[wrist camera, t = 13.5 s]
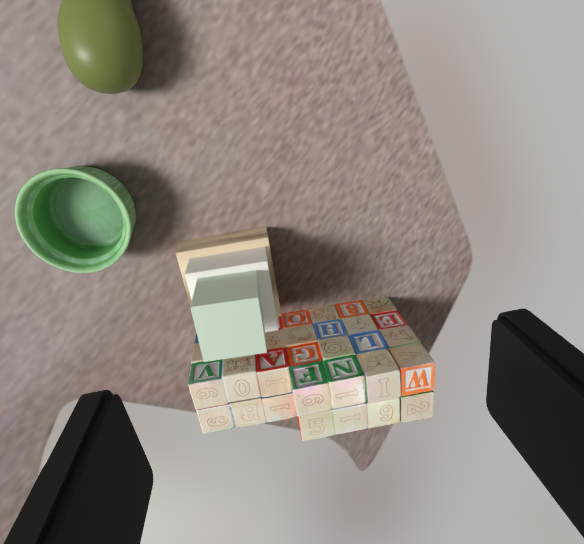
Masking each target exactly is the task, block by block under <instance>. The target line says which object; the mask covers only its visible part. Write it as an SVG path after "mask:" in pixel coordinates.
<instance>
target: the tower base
mask: <svg viewBox="0 0 584 544" xmlns="http://www.w3.org/2000/svg"><path fill="white" fill-rule="evenodd" d="M264 246H265V249H266V255H267V261H268V267H269V273H270V279H271V285H272V291H273V297H274V303H275V309H276V316H277V317H278V316H282V315H281V309H280V303H279V298H278V292H277V286H276V280H275V274H274V269H273V263H272V257H271V251H270V245H269V240H268V234H267V228H266V227H263V228H257V229H251V230H245V231H239V232H233V233H227V234H221V235H215V236H209V237H203V238H197V239H191V240H185V241H180V243H179V246H178V248H177V251H176V256H177V260H178V263H179V267H180V270H181V274H182V277H183V281H184V284H185V288H186V292H187V295H188V299H189V302H190V306H191V303H192V300H191V297H190V293H189V289H188V285H187V281H186V278H185V271H186V268H187V265H188V261H189V258H194V257H200V256H207V255H213V254H219V253H226V252H232V251H238V250H245V249H251V248H257V247H264Z"/></svg>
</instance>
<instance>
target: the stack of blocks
mask: <svg viewBox="0 0 584 544" xmlns="http://www.w3.org/2000/svg"><path fill="white" fill-rule="evenodd" d="M281 315H282V316H278V317H277V323H278V330H276V331H270V332H265V338H266V349H267V353H261V354H254V355H248V356H241V357H234V358H228V359H221V360H214V361H208V362H204V361H203V357H202V353H201V349H200V345H199V341H198V336H197V333H196V339H195V345H194V348H193V354H192V360H191V369H190V376H189V382H188V386H189V389H190V393H191V396H192V399H193V403H194V406H195V409H196V410H197V414H198V418H199V421H200V424H201V428H202V431H203V433H204V434H206V433H211V432H216V431H221V430H226V429H232V428H234V427H235V428H240V427H245V426H251V425H256V424H262V423H265V422H273V421H278V420H283V419H288V418H292V417H295V416H297V418H298V423H299V428H300V433H301V439H302V441H307V440H312V439H317V438H322V437H327V436H332V435H335V434H341V433H347V432H351V431H357V430H362V429H365V428H373V427H378V426H384V425H389V424H394V423H399V422H400V421H401V422H408V421H413V420H418V419H424V418H430V417H432V416H433V408H434V391H433V390H434V386H435V385H434V384H435V362H434V360H433V359H432V358H431V356H430V355H429V354H428V352H427V351H426V350H425V348H424V347H423V345H422V344H421V341H420V340H419V339H418V338H417V336H416V335H415V333H414V332H413V330H412V329H411V328H410V327H409V326H408V324H407V323H406V322H405V320H404V319H403V317H402V316H401V315H400V314H399V312H398V311H397V309H396V307H395V306H394V305H393V303H392V302H391V301H390V299H389V298H388V297H384V298H377V299H371V300H364V301H354V302H348V303H341V304H336V305H328V306H322V307H316V308H310V309H308V310H302V311H298V312H291V313H285V314H281Z"/></svg>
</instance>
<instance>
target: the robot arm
mask: <svg viewBox="0 0 584 544" xmlns="http://www.w3.org/2000/svg"><path fill="white" fill-rule="evenodd" d="M486 403H487V407H488V410H489V412H490V414H491V416H492V417H493V418H494V420H495V421H496V422H497V424H498V425H499V427H500V428H501V429H502V430H503V432H504V433H505V434H506V436H507V437H508V438H509V440H510V441H511V442H512V444H513V445H514V446H515V448H516V449H517V450H518V452H519V453H520V454H521V456H522V457H523V458H524V460H525V461H526V462H527V463H528V465H529V466H530V468H531V469H532V470H533V471H534V473H535V474H536V475H537V477H538V478H539V479H540V481H541V482H542V483H543V485H544V486H545V487H546V488H547V490H548V491H549V493H550V494H551V495H552V496H553V498H554V499H555V501H556V502H557V503H558V505H559V506H560V507H561V508H562V510H563V511H564V512H565V514H566V515H567V516H568V517H569V519H570V520H571V522H572V523H573V524H574V526H575V527H576V528H577V530H578V531H579V532H580V533H581V535H582V536H583V537H584V354H583V353H582V352H581V351H579V350H578V349H577V348H576V347H574V346H573V345H572V344H570V343H569V342H568V341H567V340H565V339H564V338H563V337H562V336H560V335H559V334H558V333H557V332H555V331H554V330H553V329H551V328H550V327H549V326H548V325H546V324H545V323H544V322H543V321H541V320H540V319H539V318H537V317H536V316H535V315H534V314H532V313H531V312H530V311H528V310H526V309H518V310H513V311H508V312H503V313H500V314H499V316H498V318H497V320H494V321H493V323H492V332H491V344H490V358H489V371H488V384H487V397H486ZM152 486H153V473H152V469H151V466H150V464H149V462H148V459H147V457H146V455H145V453H144V450H143V448H142V446H141V443H140V441H139V439H138V437H137V434H136V432H135V430H134V427H133V425H132V423H131V421H130V418H129V416H128V414H127V411H126V409H125V407H124V405H123V402H122V400H121V398H120V396H119V395H118V394H114V395H113V394H112V393H111V392H110V391H109V390H103V391H98V392H93V393H88V394H84V395H82V396H81V397H80V399H79V400H78V402H77V404H76V406H75V408H74V410H73V412H72V414H71V416H70V418H69V420H68V422H67V424H66V426H65V428H64V430H63V432H62V434H61V435H60V437H59V439H58V441H57V443H56V445H55V447H54V449H53V451H52V453H51V455H50V457H49V459H48V461H47V463H46V464H45V466H44V467H43V469H42V470H41V472H40V474H39V476H38V478H37V480H36V482H35V484H34V486H33V488H32V490H31V492H30V494H29V496H28V498H27V500H26V502H25V503H24V505H23V507H22V509H21V511H20V513H19V515H18V517H17V519H16V521H15V523H14V525H13V527H12V529H11V531H10V533H9V535H8V536H7V538H6V540H5V542H4V544H140V541H141V536H142V531H143V527H144V522H145V518H146V513H147V509H148V504H149V500H150V495H151V491H152Z"/></svg>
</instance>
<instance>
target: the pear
mask: <svg viewBox="0 0 584 544" xmlns="http://www.w3.org/2000/svg"><path fill="white" fill-rule="evenodd" d="M58 32H59V39H60V44H61V48H62V51H63V54H64V57H65V60H66V62H67V65H68V67H69V69H70V70H71V72H72V73H73V75H74V76H75V77H76V78H77V80H78V81H80V82H81V83H82V84H83V85H85V86H86V87H88V88H90V89H92V90H94V91H97V92H101V93H107V94H116V93H121V92H125V91H127V90H129V89H130V88H132V87H133V86H134V85H135V84H136V83H137V81H138V80H139V78H140V75H141V72H142V66H143V45H142V37H141V31H140V27H139V24H138V21H137V18H136V16H135V14H134V12H133V8H132V0H62V3H61V6H60V9H59V14H58Z"/></svg>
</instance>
